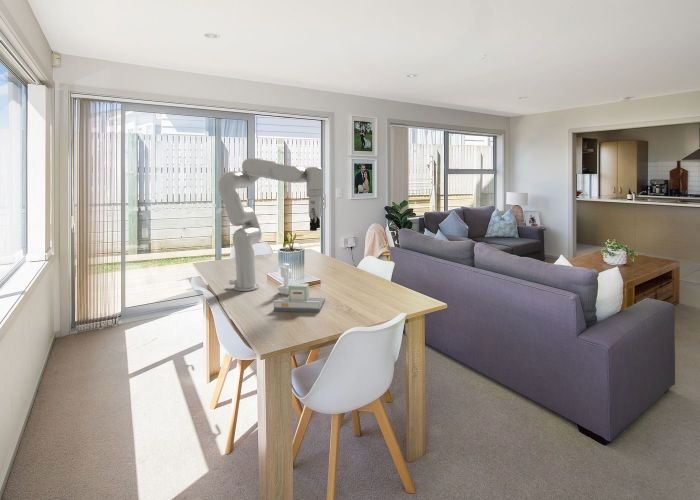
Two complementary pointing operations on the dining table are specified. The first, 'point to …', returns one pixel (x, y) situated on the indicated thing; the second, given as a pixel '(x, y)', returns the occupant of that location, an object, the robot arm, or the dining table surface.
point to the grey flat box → (299, 305)
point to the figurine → (285, 279)
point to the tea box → (298, 292)
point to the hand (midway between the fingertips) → (315, 229)
